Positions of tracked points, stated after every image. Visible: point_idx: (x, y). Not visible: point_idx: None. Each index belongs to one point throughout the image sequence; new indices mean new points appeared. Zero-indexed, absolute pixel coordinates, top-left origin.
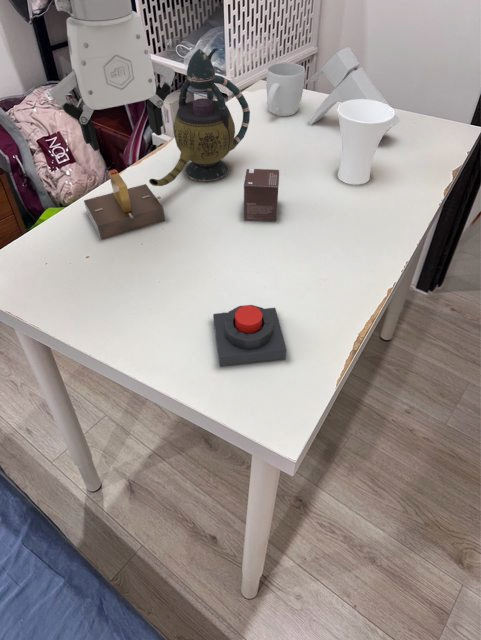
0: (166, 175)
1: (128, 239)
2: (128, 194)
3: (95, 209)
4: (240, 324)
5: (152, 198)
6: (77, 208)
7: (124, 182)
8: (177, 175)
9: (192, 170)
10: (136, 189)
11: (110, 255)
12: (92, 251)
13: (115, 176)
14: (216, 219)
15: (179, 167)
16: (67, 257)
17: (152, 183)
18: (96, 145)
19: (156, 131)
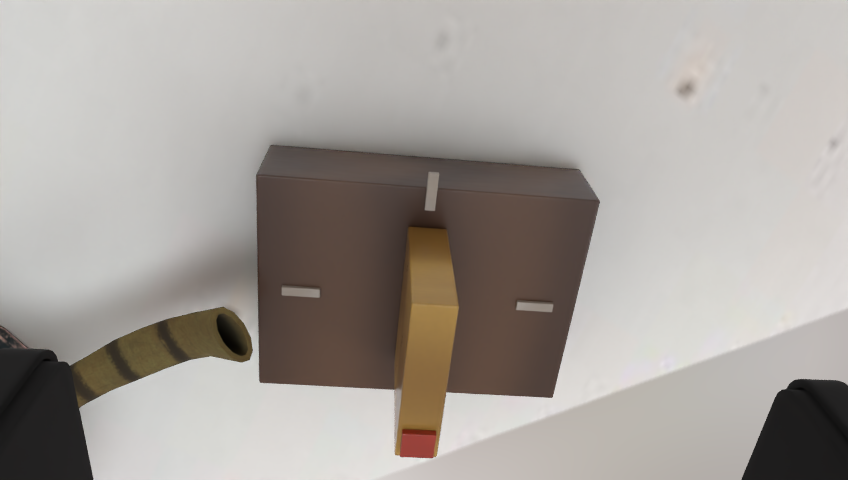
0: (146, 373)
1: (478, 110)
2: (411, 272)
3: (544, 318)
4: None
5: (276, 267)
6: (552, 403)
7: (409, 335)
8: (90, 354)
9: None
10: (316, 364)
11: (602, 43)
12: (649, 116)
13: (426, 405)
14: (15, 15)
15: None
16: (750, 135)
17: (240, 337)
18: (843, 413)
19: (44, 389)
